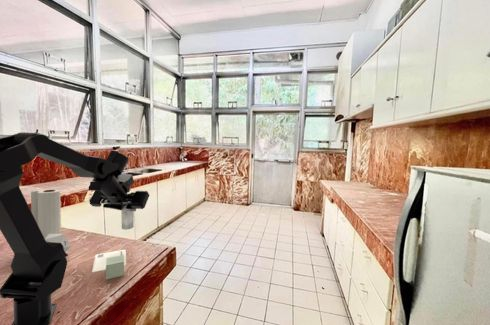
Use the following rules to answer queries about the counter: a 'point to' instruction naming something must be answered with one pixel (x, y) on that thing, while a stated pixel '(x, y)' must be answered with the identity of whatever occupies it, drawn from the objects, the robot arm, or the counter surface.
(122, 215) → the tin
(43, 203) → the paper towel roll
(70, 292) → the counter surface
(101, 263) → the letter
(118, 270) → the block
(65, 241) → the die
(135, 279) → the counter surface
